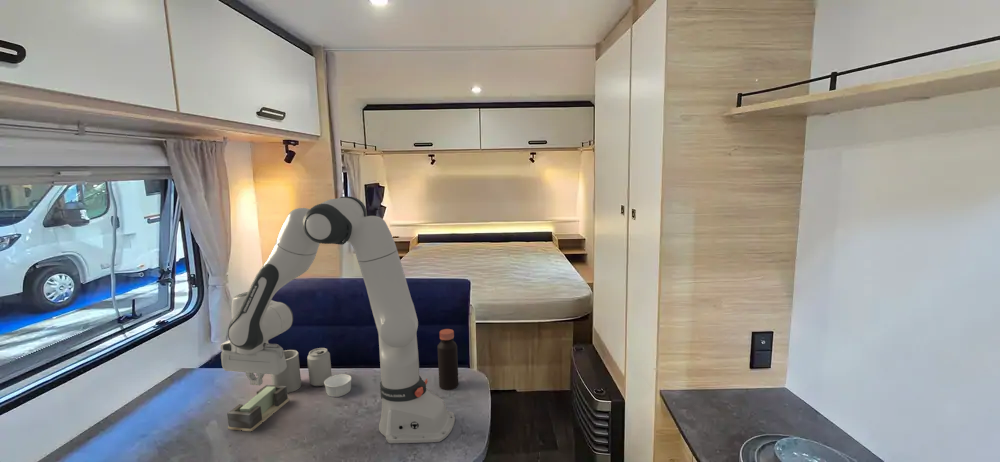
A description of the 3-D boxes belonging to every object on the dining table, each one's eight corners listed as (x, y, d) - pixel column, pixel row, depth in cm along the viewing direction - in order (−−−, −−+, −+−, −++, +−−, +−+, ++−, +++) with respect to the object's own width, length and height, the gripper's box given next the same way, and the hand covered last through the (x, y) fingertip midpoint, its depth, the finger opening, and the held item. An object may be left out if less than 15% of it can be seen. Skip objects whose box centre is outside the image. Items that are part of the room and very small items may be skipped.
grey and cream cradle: (289, 400, 144) (287, 386, 144) (251, 431, 128) (249, 415, 127) (267, 398, 146) (266, 384, 145) (228, 429, 129) (226, 413, 129)
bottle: (454, 391, 148) (451, 336, 145) (436, 389, 150) (433, 334, 147) (461, 381, 154) (459, 328, 151) (443, 379, 156) (441, 327, 153)
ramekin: (349, 382, 156) (348, 371, 155) (355, 393, 148) (354, 381, 148) (323, 389, 151) (322, 378, 151) (327, 401, 144) (326, 389, 143)
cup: (267, 389, 152) (264, 357, 150) (292, 378, 160) (289, 347, 158) (281, 396, 147) (278, 363, 145) (306, 385, 154) (303, 353, 153)
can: (324, 388, 152) (321, 356, 150) (305, 386, 154) (302, 354, 152) (336, 377, 159) (333, 347, 157) (318, 376, 161) (315, 345, 159)
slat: (277, 400, 143) (275, 386, 142) (251, 424, 130) (249, 408, 129) (268, 400, 143) (266, 386, 142) (241, 423, 130) (239, 408, 130)
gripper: (288, 340, 134) (293, 381, 137) (231, 337, 138) (236, 377, 140) (274, 348, 128) (279, 392, 130) (215, 345, 132) (220, 387, 134)
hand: (256, 384), depth 135 cm, fingers closed
